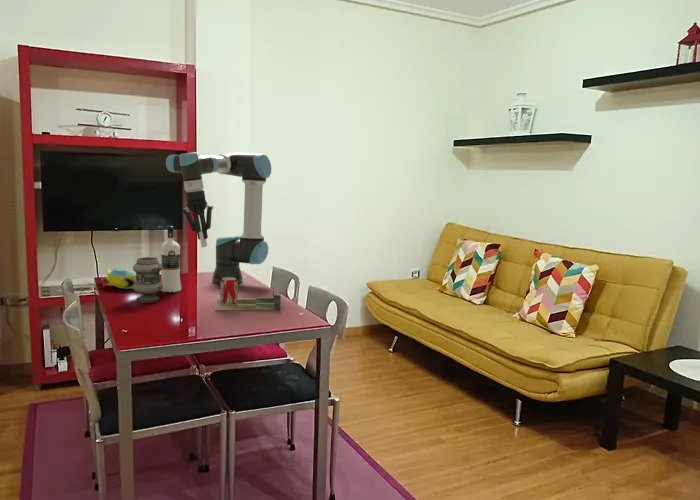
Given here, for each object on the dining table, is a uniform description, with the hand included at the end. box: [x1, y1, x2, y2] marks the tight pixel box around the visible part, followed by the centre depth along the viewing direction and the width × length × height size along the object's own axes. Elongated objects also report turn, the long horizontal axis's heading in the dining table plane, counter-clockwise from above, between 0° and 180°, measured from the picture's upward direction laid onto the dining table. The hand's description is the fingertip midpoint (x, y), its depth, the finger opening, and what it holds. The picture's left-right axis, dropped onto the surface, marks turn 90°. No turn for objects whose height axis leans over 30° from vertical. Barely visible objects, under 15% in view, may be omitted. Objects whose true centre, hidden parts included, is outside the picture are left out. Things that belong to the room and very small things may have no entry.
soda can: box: [219, 277, 239, 304], centre depth 235 cm, size 7×7×12 cm
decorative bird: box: [100, 267, 136, 290], centre depth 263 cm, size 14×30×9 cm, turn 66°
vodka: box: [160, 225, 182, 294], centre depth 259 cm, size 9×9×30 cm
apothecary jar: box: [132, 256, 163, 303], centre depth 241 cm, size 12×12×18 cm
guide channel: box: [215, 289, 282, 311], centre depth 237 cm, size 12×26×6 cm, turn 101°
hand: (204, 246), depth 237 cm, fingers closed
